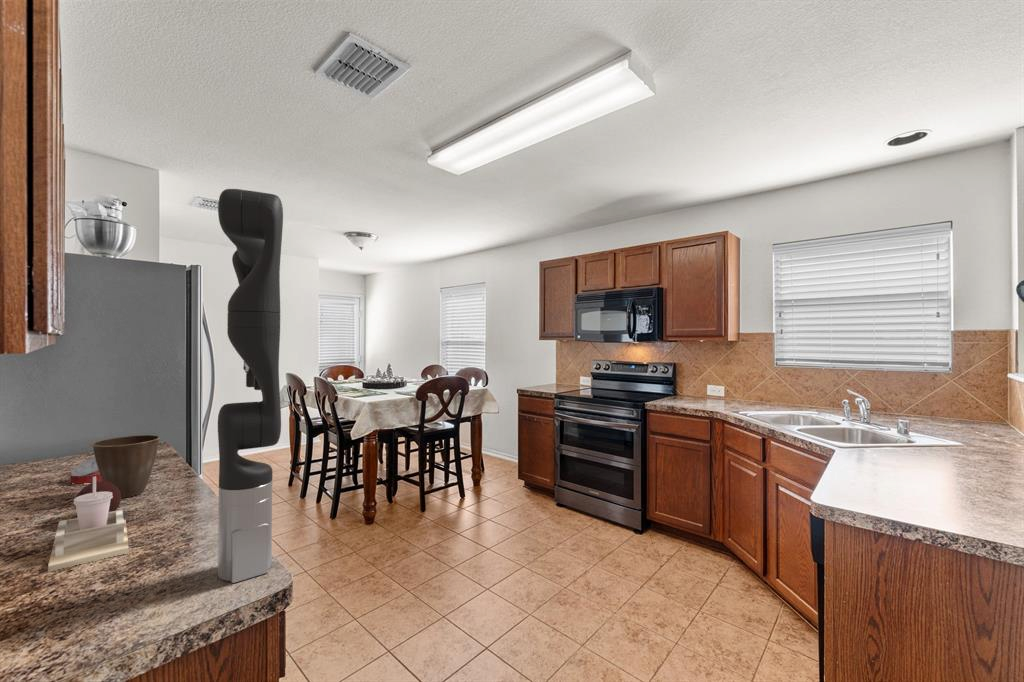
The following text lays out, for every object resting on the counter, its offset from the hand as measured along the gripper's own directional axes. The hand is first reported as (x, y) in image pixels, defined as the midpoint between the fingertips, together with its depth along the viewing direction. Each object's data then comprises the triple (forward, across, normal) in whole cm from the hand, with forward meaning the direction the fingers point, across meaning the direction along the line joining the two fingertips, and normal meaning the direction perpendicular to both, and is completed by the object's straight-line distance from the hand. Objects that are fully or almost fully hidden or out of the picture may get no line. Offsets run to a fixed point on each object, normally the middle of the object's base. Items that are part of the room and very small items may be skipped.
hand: (254, 388), depth 117 cm
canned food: (+34, -67, -32) cm, 81 cm away
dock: (+33, -4, -31) cm, 46 cm away
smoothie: (+32, -4, -31) cm, 45 cm away
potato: (+33, -24, -30) cm, 51 cm away
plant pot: (+33, -42, -24) cm, 59 cm away
